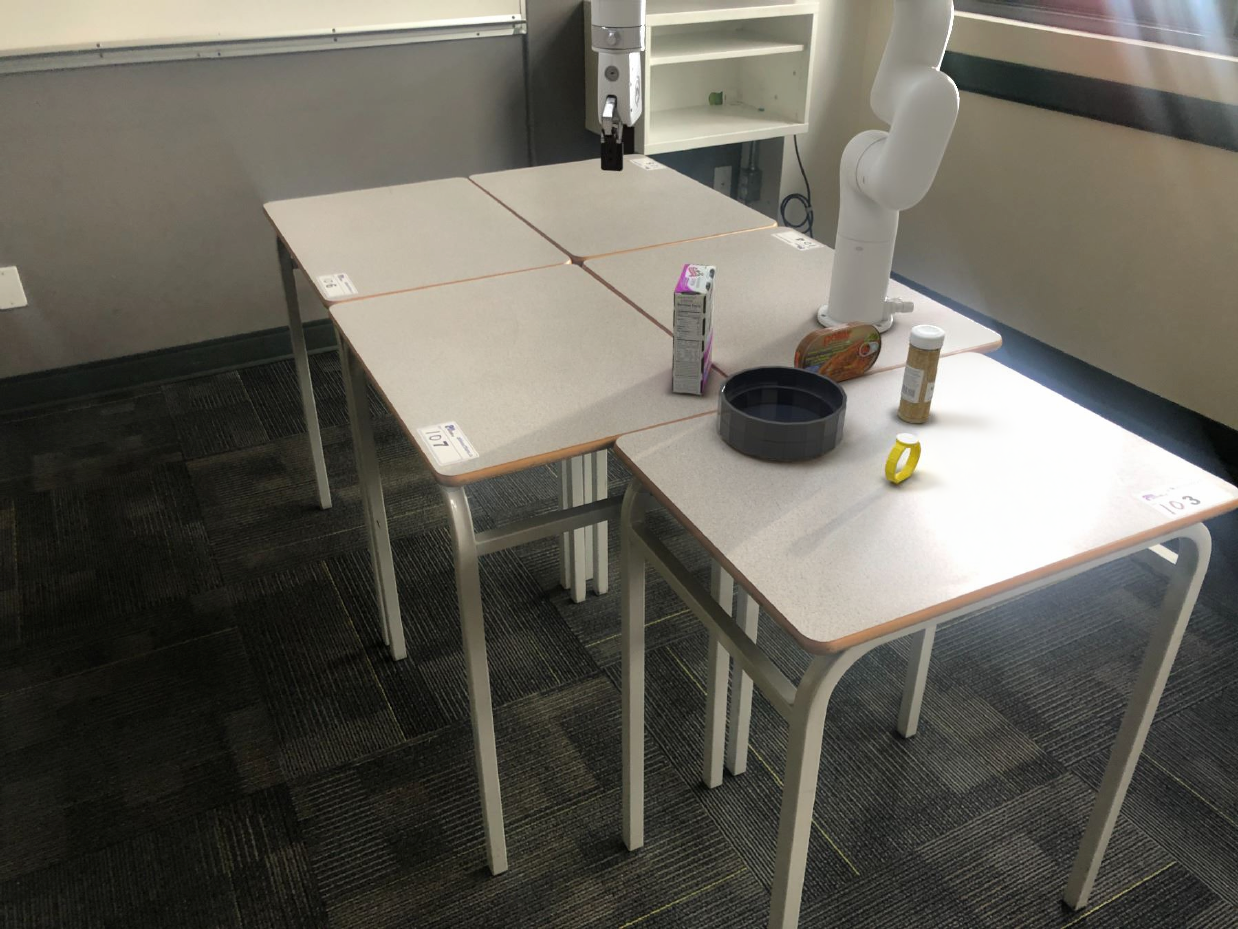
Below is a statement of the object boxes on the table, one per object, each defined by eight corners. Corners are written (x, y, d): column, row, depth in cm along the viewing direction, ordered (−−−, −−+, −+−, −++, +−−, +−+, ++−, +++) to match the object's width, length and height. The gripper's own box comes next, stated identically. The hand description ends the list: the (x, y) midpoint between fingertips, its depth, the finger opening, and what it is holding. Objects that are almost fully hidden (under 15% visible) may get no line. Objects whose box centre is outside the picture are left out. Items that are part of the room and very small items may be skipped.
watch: (895, 491, 125) (902, 451, 122) (877, 482, 127) (883, 442, 124) (921, 474, 129) (929, 434, 126) (903, 466, 130) (910, 426, 127)
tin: (800, 392, 148) (806, 340, 144) (788, 383, 151) (793, 332, 146) (879, 371, 154) (887, 321, 150) (866, 363, 157) (873, 313, 152)
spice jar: (934, 422, 140) (952, 335, 133) (905, 426, 140) (920, 338, 132) (919, 407, 144) (935, 321, 137) (890, 410, 143) (905, 324, 136)
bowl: (824, 400, 146) (829, 364, 143) (856, 461, 131) (862, 422, 128) (708, 404, 145) (710, 367, 142) (728, 466, 130) (730, 426, 127)
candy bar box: (680, 361, 157) (684, 262, 148) (711, 364, 156) (717, 264, 147) (669, 393, 148) (672, 289, 139) (702, 397, 147) (708, 292, 138)
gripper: (633, 49, 131) (632, 178, 140) (654, 29, 146) (652, 148, 155) (578, 47, 132) (581, 176, 141) (604, 28, 147) (605, 145, 156)
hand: (618, 161), depth 148 cm, fingers open, 9 cm apart
